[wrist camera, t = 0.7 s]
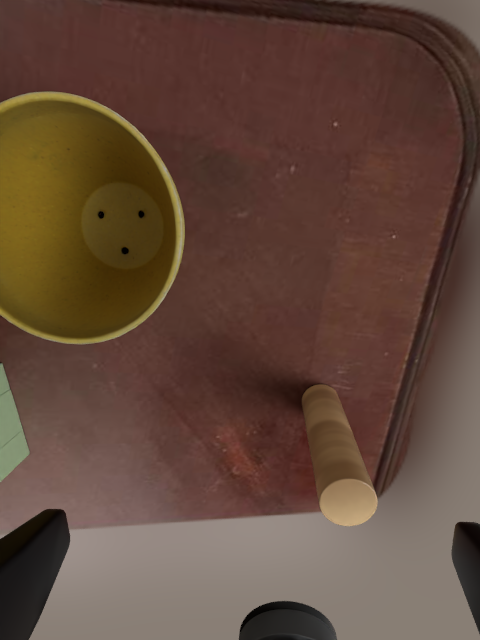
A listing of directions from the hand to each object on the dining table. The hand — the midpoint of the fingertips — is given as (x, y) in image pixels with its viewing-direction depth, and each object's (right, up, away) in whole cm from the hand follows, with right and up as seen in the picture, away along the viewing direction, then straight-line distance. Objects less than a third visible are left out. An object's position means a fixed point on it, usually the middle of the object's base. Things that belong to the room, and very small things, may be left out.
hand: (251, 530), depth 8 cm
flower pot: (-7, +10, +14) cm, 19 cm away
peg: (+5, -1, +16) cm, 16 cm away
